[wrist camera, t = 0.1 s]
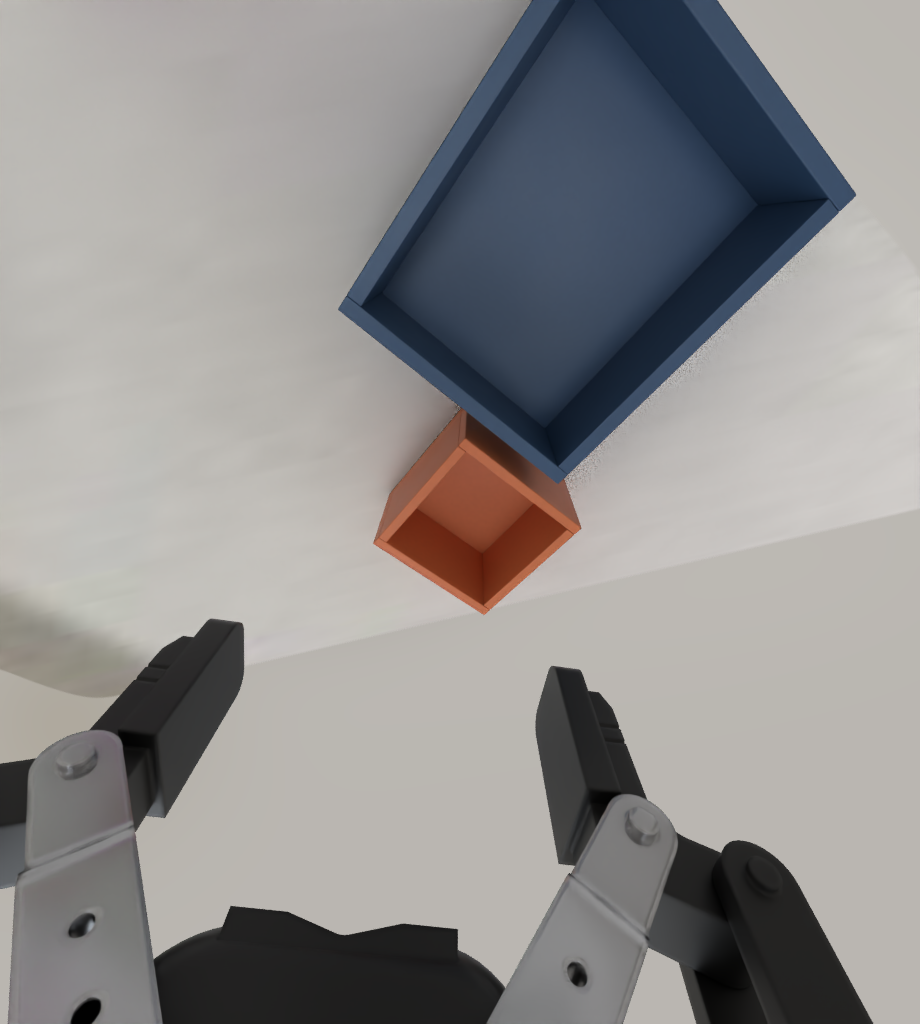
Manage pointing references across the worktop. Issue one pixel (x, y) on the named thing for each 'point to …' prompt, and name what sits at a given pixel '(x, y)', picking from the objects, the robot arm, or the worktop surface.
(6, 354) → the worktop surface
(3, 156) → the worktop surface
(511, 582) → the small bin
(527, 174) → the big bin
